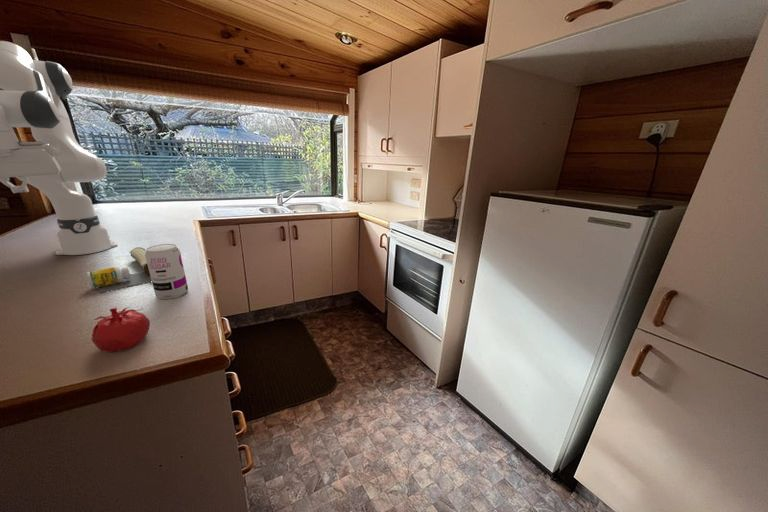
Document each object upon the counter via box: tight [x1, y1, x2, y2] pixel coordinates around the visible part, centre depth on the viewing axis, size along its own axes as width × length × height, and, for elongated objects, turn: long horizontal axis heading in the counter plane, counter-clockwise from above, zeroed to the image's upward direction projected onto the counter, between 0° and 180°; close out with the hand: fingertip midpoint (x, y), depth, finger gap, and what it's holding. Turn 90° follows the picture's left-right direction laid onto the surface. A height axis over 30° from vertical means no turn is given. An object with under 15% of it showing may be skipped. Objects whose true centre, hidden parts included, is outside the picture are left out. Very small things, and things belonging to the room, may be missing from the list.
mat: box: [97, 271, 152, 294], centre depth 98 cm, size 11×18×1 cm, turn 135°
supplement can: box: [145, 243, 189, 300], centre depth 87 cm, size 8×8×15 cm
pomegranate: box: [91, 307, 151, 353], centre depth 66 cm, size 10×10×9 cm
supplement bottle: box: [86, 266, 131, 290], centre depth 93 cm, size 5×5×10 cm
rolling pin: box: [128, 247, 150, 276], centre depth 107 cm, size 32×6×5 cm, turn 47°
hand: (21, 192), depth 86 cm, fingers closed
